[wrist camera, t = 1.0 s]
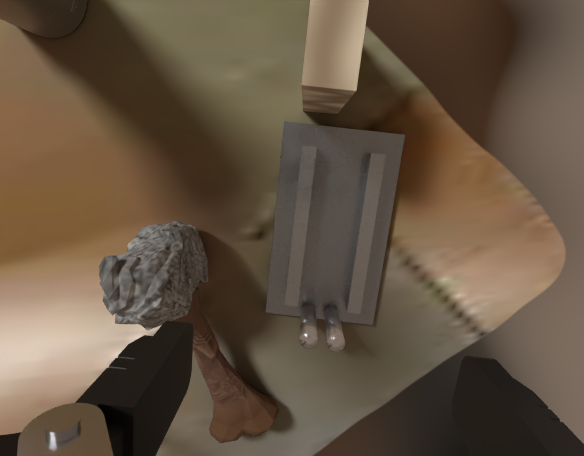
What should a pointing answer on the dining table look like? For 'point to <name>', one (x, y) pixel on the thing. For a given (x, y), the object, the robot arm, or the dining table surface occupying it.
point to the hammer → (182, 317)
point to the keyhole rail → (331, 226)
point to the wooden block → (332, 53)
